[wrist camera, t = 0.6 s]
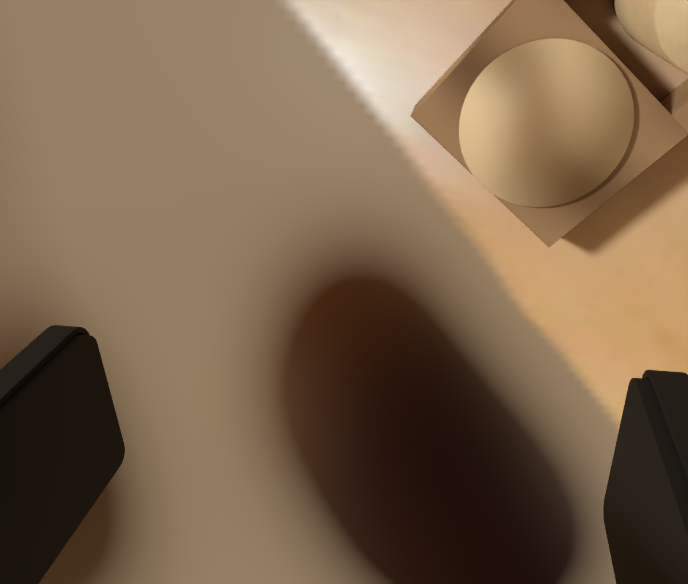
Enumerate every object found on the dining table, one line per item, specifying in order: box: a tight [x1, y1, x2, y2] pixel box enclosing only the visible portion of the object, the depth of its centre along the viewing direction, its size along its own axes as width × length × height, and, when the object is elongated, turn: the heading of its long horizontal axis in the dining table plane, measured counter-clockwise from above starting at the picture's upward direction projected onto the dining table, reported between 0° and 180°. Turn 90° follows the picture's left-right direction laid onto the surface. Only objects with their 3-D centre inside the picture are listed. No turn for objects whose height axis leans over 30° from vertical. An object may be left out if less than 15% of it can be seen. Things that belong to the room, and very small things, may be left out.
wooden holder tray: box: [411, 0, 688, 247], centre depth 29 cm, size 18×10×3 cm, turn 139°
